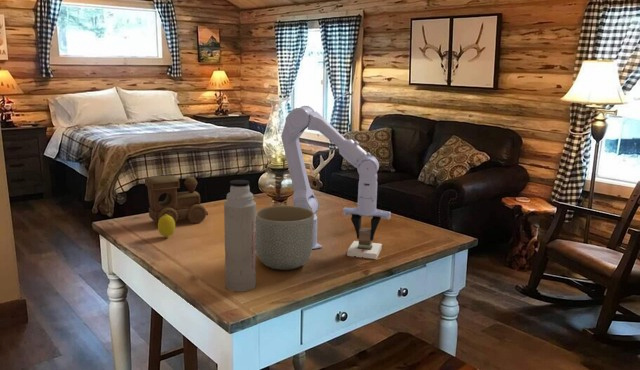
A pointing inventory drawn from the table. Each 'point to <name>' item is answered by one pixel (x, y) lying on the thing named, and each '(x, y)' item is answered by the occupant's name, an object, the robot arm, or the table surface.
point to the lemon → (166, 225)
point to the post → (365, 239)
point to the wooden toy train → (174, 199)
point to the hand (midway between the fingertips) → (365, 238)
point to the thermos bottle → (240, 237)
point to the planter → (284, 236)
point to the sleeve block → (364, 253)
